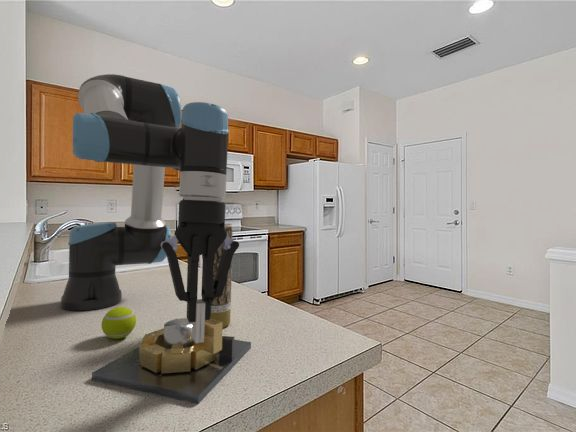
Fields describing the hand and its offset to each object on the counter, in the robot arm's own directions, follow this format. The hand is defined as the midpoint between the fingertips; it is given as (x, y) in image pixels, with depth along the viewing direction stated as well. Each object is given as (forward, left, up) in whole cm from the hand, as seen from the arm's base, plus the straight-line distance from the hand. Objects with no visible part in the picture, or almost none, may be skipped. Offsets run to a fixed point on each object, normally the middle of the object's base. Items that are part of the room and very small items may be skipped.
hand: (197, 339), depth 54 cm
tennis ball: (-25, +9, -7) cm, 28 cm away
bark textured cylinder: (-9, +23, -7) cm, 26 cm away
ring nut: (-5, +4, -5) cm, 8 cm away
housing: (-6, +4, -7) cm, 10 cm away
